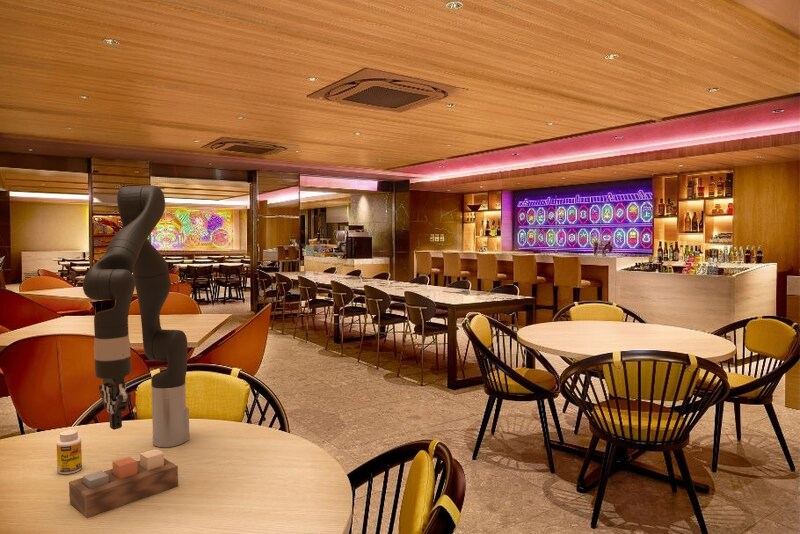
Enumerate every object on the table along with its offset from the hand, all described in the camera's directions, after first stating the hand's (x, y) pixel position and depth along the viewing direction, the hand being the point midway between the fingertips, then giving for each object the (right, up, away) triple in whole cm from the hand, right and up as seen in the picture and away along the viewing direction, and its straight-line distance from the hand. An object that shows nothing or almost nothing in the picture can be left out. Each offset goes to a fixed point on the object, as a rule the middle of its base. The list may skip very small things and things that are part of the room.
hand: (115, 427), depth 136 cm
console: (+1, -16, +2) cm, 16 cm away
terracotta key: (+1, -12, +2) cm, 12 cm away
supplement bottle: (-19, -15, +15) cm, 29 cm away
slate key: (-3, -14, -3) cm, 15 cm away
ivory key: (+6, -12, +7) cm, 15 cm away
